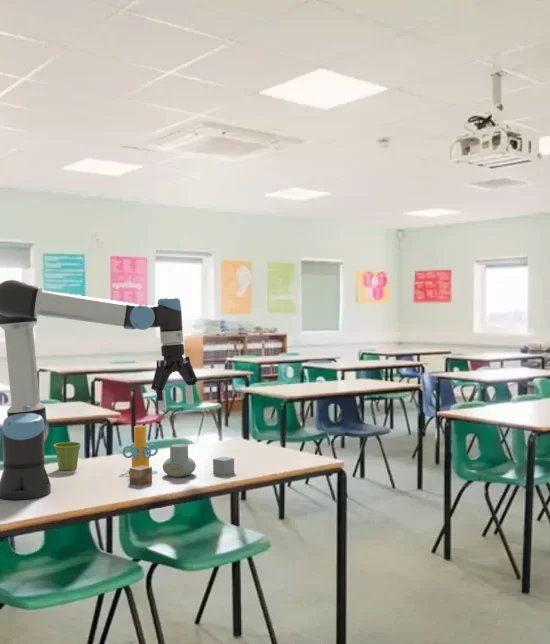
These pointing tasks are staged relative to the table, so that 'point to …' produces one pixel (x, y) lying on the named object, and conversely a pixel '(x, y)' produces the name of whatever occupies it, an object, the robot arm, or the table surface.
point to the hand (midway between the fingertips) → (176, 407)
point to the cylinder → (140, 448)
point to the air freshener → (179, 461)
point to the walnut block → (140, 475)
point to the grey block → (223, 466)
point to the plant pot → (67, 455)
